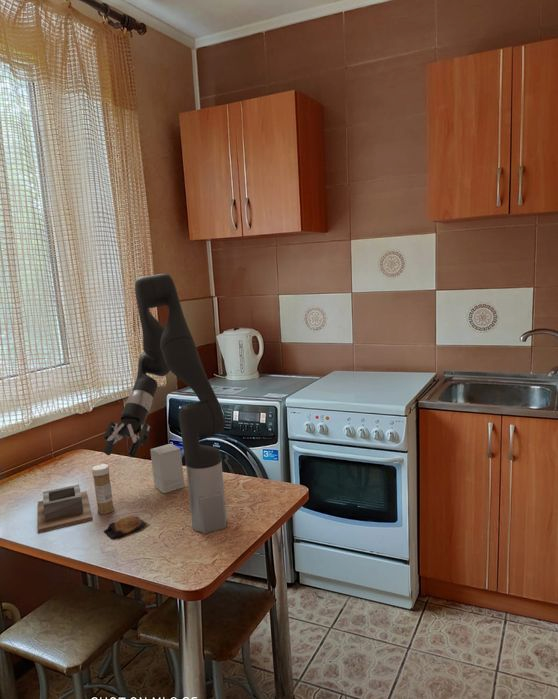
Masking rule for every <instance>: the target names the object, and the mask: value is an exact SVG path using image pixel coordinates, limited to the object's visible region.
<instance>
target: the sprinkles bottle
mask: <svg viewBox="0 0 558 699" xmlns="http://www.w3.org/2000/svg"><path fill="white" fill-rule="evenodd" d="M91 472H92V477H93V481H94V482H93V483H94V491H95V498H96V504H97V506H96V507H97V513H98V514H101V515H103V514H104V515H105V514H109V513H112V512H113V511H114V510H115V507H114V503H113V502H114V501H113V492H112V491H113V490H112V485H111V479H110V467H109V464H105V463H104V464H103V463H101V464H97V465H95V466H93V467H92V468H91Z"/></svg>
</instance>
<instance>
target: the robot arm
mask: <svg viewBox="0 0 558 699" xmlns="http://www.w3.org/2000/svg"><path fill="white" fill-rule="evenodd" d="M134 292H135V298H136V305H137V311H138V315H139V320H140V325H141V329H142V347H143V352H142V353H141V354H140V356H139V358H138V364H137V375H136V380H135V383H134V384H133V385H134V386H133V388H132V390H131V392H130V394H129V396H128V398H127V400H126V402H125V403H124V404H125V405H124V408H123V409H122V412H121V414H120V421H119V422H118V423H116V422H114V421H110V422H109V423H108V426H107V428H106V430H105V433H104V434H103V437H102V438H103V439H104V440H105V441H106V443H105V447H104V448H103V452H104V454H105V455H106V456H111V454H112V451H113V449H114V446H115V444H116V443H117V442H118V441H121V440H122V439H131V440H132V442H131V444H130V447H129V450H128V452H127V456H129V458H134V457H135V456H136V454H137V452H138V449H139V448H140V446H145V445H147V442H148V438H149V435H150V432H151V429H152V428H151V426H150V425H149V424H147V423H146V420H147V417H148V415H149V412H150V410H151V407H152V404H153V399H154V397H155V394H156V392H157V389H158V385H159V384H158V381H157V380H156V379H154V378H153V377H151V376H149V375H148V374H150V375H153V376H157V377H165V376H167V375H168V374H169V373H170V372H171V373H172V374H173V375H175V377H176V378H177V379H179V380H180V381H182V382H183V383H185V384H186V385H187V386H188V387H189V388H190V389H192V390H191V391H193V393H194V394H195V395H196V397H197V398H198V400H199V401H196V402H192V403H191V402H190V403H188V404H187V403H186V404H183V405H182V406H180V408H179V411H178V423H179V427H180V435H181V439H182V440H181V441H182V448H183V455H184V459H185V470H186V479H187V480H186V481H187V490H188V498H189V499H188V500H189V509H190V517H191V527H192V528H193V530H195V531H197V532H201V533H202V534H209V533H212V532H216V531H219V530H222V529H225V528H227V527H226V526H227V524H228V518H227V517H228V516H227V508H226V507H227V506H226V500H225V498H226V496H225V487H224V478H223V477H224V475H223V473H224V472H223V465H222V464H223V463H222V462H223V461H222V454H221V450H220V449H219V448H217V447H215V446H210V445H203V444H201V443H200V441H199V440H200V439H203V438H204V439H205V438H207V437H212V436H215V435H218V434H221V433H222V432H224V430H225V427H226V420H225V416H224V412H223V409H222V407H221V404H220V401H219V400H218V397H217V395H216V393H215V391H214V389H213V387H212V385H211V383H210V380H209V378H208V376H207V374H206V371H205V368H204V366H203V363H202V360H201V357H200V354H199V351H198V348H197V346H196V345H197V344H196V343H195V340H194V338H193V335H192V333H191V331H190V328H189V325H188V323H187V320H186V318H185V315H184V311H183V309H182V305H181V302H180V298H179V295H178V292H177V288H176V284H175V282H174V280H173V278H172V276H171V275H170V274H168V273H157V274H152V275H150V274H149V275H145V276H140V277H138V278H137V279H136V280H135V282H134ZM164 306H167V308H168V315H167V316H168V317H167V320H166V324H165V326H163V325H162V323H160V321H159V320H158V319H157V318H156V317H154V315H153V314H152V313H151V311H150V309H154V308H158V307H164ZM139 432H140V435H139Z"/></svg>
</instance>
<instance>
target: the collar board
mask: <svg viewBox="0 0 558 699" xmlns="http://www.w3.org/2000/svg"><path fill="white" fill-rule="evenodd" d="M42 497H43V498H42V500H39V501H37V531H38V533H39V534H40V533H43V532H47V531H53V530H56V529H60V528H65V527H69V526H72V525H78V524H82V523H87V522H89V521H94V520H93V513H92V509H91V506H90V500H89V497H88V491H87V490H85V491H81V488H80V484H75V485H74V484H73V485H70V486H66V487H60V488H56V489H51V490H47V491H42Z"/></svg>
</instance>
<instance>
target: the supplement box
mask: <svg viewBox="0 0 558 699" xmlns="http://www.w3.org/2000/svg"><path fill="white" fill-rule="evenodd" d="M181 452H182V451H181V448H180V447H178V446H177V445H174V444H173V443H169V444H164V445H161V446H157V447H154V448H150V458H151V468H152V477H153V484H154V486H153V487H155V489H157V490H158V491H160V493H162V494H166V493H170V492H172V491H176V490H179V489H183V488H184V487H185V479H184V470H183V461H182V460H183V459H182V453H181Z"/></svg>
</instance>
